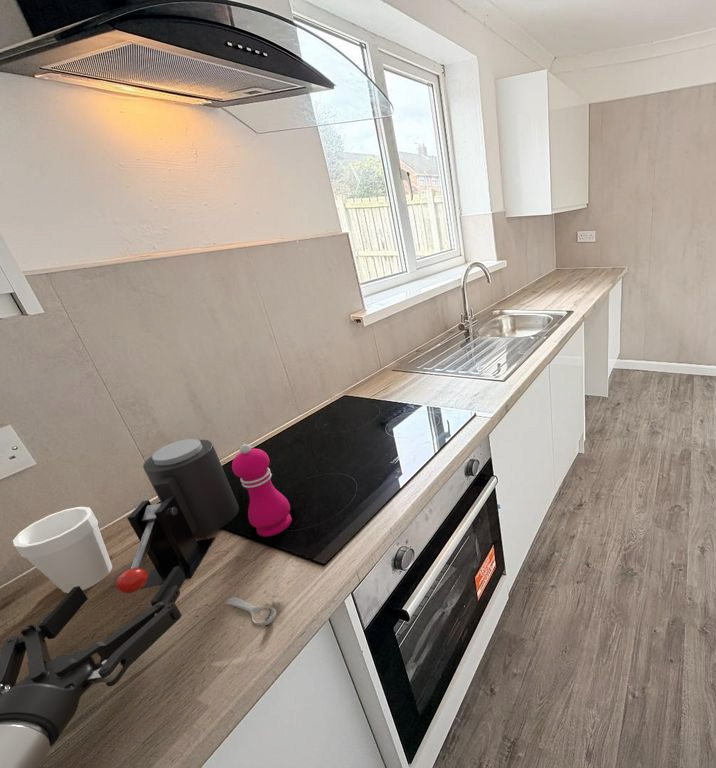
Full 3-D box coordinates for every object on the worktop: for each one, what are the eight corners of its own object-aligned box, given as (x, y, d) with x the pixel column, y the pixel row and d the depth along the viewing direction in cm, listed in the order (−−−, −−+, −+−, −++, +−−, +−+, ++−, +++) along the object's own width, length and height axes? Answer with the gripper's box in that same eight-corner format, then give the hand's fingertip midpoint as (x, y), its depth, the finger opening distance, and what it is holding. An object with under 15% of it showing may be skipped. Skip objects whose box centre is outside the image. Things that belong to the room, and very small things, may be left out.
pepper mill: (260, 522, 86) (227, 439, 78) (298, 513, 88) (269, 431, 80) (251, 546, 79) (214, 459, 71) (292, 536, 81) (260, 450, 73)
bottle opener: (266, 632, 62) (261, 623, 62) (217, 612, 67) (212, 603, 67) (283, 615, 65) (278, 606, 64) (235, 597, 70) (230, 588, 69)
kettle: (224, 543, 81) (188, 465, 74) (161, 555, 79) (118, 477, 72) (252, 493, 95) (225, 424, 88) (200, 502, 93) (167, 432, 86)
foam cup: (68, 573, 76) (31, 518, 71) (131, 553, 80) (100, 500, 75) (43, 614, 68) (-1, 555, 63) (114, 590, 72) (78, 532, 67)
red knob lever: (148, 593, 65) (133, 586, 62) (122, 598, 64) (106, 591, 61) (175, 509, 74) (163, 500, 71) (153, 513, 73) (140, 504, 71)
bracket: (193, 582, 72) (161, 521, 67) (142, 593, 71) (105, 531, 65) (217, 541, 81) (191, 484, 76) (172, 550, 80) (142, 492, 74)
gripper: (-107, 795, 44) (50, 618, 63) (153, 727, 48) (227, 581, 68) (-157, 756, 41) (23, 583, 60) (125, 688, 45) (211, 547, 65)
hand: (131, 582), depth 64 cm, fingers open, 13 cm apart
